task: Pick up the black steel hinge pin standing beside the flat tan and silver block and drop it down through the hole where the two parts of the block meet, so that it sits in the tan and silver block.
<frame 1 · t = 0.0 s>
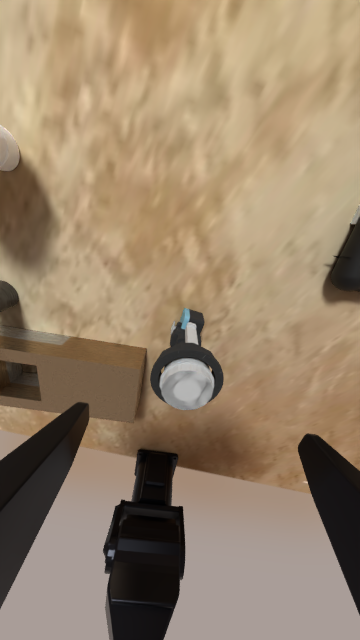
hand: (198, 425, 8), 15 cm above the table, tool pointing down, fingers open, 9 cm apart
push button: (183, 331, 23), on the table
hinge pin: (3, 294, 21), on the table
tan and silver block: (40, 359, 24), on the table
pipe fitting: (2, 149, 16), on the table
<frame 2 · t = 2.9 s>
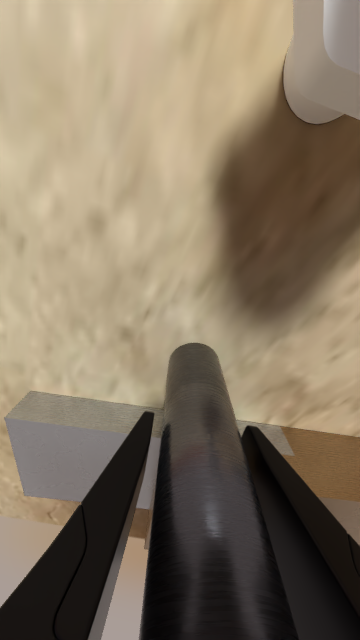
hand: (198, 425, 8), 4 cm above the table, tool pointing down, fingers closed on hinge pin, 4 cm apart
hinge pin: (193, 364, 12), on the table, touching gripper
tan and silver block: (210, 454, 15), on the table
pipe fitting: (326, 68, 7), on the table
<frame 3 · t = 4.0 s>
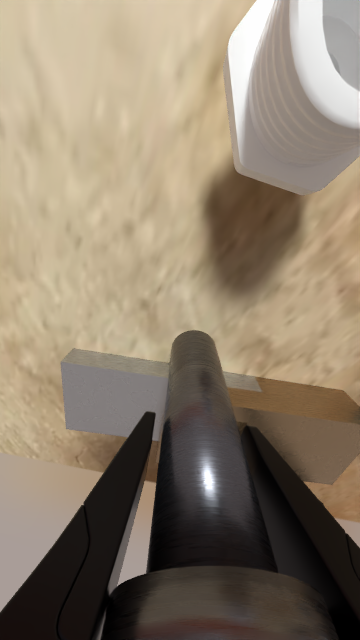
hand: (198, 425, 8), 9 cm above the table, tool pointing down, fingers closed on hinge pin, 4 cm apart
hinge pin: (193, 350, 13), point 4 cm above the table, touching gripper
tan and silver block: (204, 401, 20), on the table
pipe fitting: (266, 139, 12), on the table
when the fingers open (6 cm above the table, at t = 7.4 s): hinge pin stays where it is, resting in tan and silver block.
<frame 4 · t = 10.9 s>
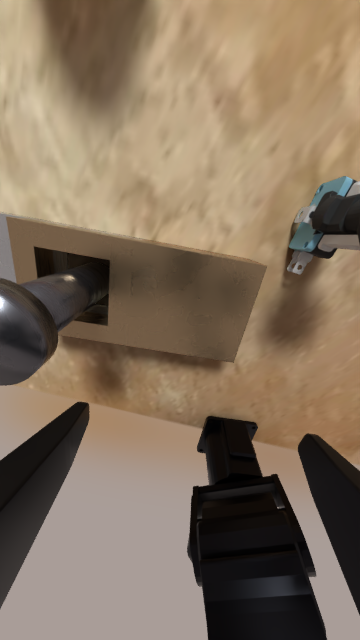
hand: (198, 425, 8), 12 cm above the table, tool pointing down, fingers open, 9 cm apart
push button: (306, 230, 16), on the table
hinge pin: (97, 279, 18), resting in tan and silver block
tan and silver block: (96, 278, 18), on the table
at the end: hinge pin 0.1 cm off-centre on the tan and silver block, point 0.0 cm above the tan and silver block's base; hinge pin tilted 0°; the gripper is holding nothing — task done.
